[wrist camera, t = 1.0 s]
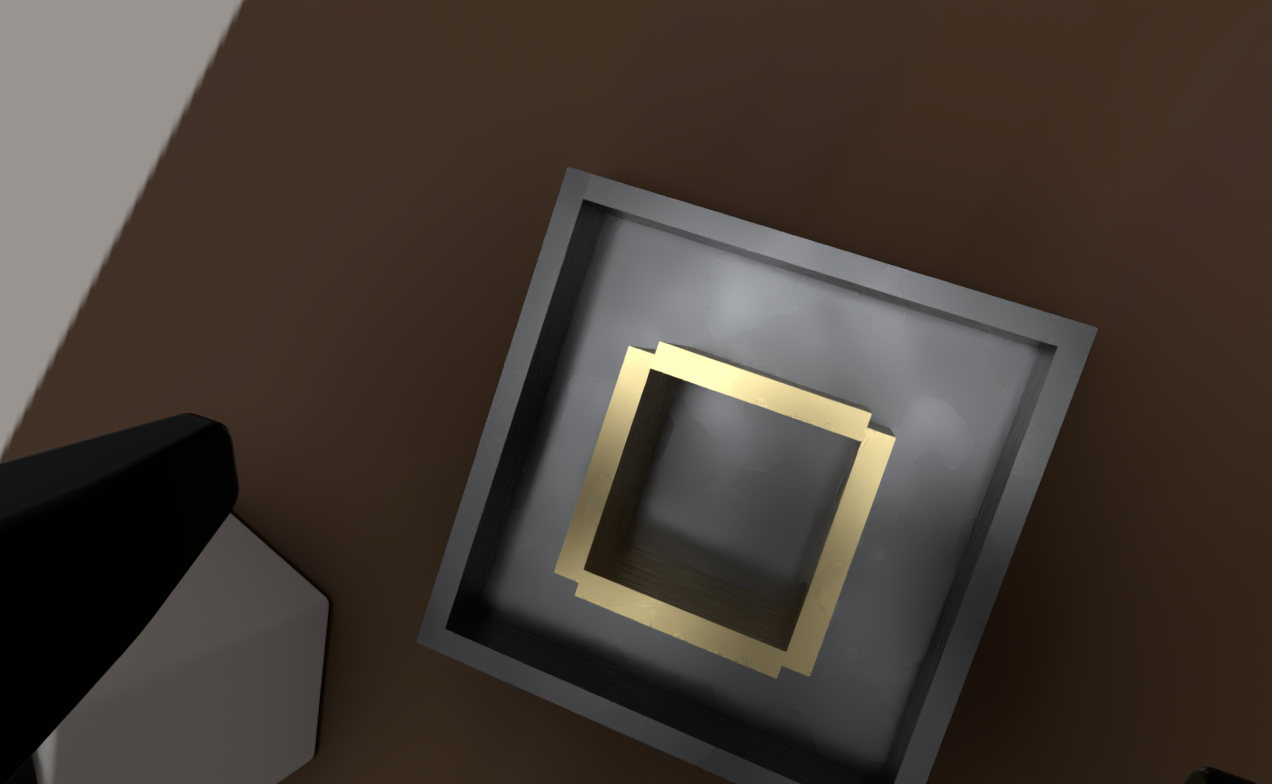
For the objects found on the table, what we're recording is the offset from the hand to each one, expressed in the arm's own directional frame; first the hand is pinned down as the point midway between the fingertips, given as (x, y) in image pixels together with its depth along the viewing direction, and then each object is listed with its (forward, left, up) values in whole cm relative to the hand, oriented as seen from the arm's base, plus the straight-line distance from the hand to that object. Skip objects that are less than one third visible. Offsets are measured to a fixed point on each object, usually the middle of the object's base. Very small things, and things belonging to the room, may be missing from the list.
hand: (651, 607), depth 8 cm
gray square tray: (-1, +1, -15) cm, 15 cm away
